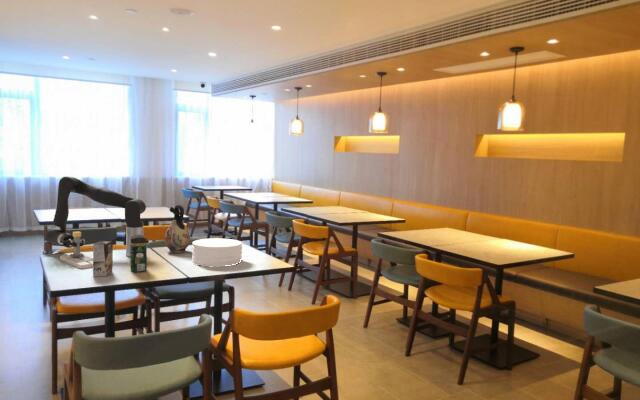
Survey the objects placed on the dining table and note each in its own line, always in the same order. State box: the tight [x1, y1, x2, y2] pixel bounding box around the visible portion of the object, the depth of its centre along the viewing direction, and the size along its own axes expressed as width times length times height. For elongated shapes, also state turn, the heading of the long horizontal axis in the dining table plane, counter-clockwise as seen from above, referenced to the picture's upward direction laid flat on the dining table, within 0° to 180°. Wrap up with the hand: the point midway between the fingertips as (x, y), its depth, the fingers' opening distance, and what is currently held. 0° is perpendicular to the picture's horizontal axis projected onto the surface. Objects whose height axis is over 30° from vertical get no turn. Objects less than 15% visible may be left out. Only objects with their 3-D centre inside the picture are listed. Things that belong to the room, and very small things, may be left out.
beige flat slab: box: [59, 254, 93, 270], centre depth 256 cm, size 28×11×2 cm, turn 48°
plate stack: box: [191, 237, 243, 267], centre depth 273 cm, size 28×28×12 cm
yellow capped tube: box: [69, 231, 85, 258], centre depth 259 cm, size 4×6×14 cm
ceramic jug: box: [164, 204, 191, 254], centre depth 294 cm, size 17×15×30 cm
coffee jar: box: [129, 234, 148, 273], centre depth 245 cm, size 10×8×19 cm
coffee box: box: [92, 240, 114, 277], centre depth 234 cm, size 9×6×16 cm
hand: (79, 244), depth 257 cm, fingers closed on yellow capped tube, 2 cm apart
